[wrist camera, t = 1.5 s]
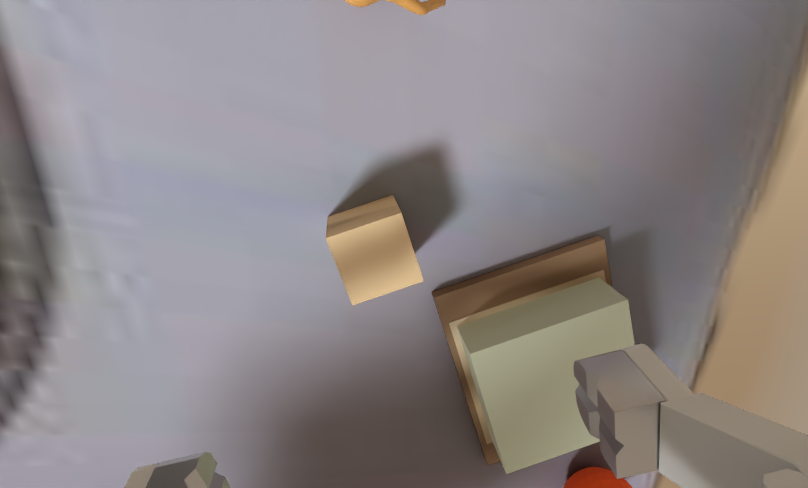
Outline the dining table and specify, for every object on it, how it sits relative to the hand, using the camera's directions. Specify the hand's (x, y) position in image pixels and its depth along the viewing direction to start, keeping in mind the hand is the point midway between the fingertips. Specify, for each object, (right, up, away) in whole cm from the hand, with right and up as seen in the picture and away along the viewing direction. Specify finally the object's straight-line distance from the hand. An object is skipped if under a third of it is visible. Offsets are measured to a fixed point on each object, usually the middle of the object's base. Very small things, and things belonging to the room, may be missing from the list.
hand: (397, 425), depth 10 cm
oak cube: (-2, +5, +24) cm, 25 cm away
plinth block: (+12, -6, +29) cm, 32 cm away
